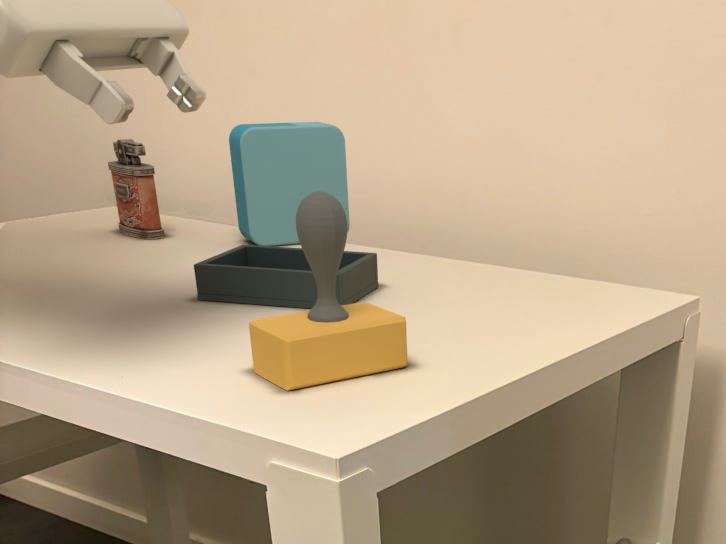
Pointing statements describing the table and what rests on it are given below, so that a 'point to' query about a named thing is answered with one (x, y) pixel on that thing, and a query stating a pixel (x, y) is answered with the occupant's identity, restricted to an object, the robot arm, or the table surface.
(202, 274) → the holder
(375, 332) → the rubber stamp
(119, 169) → the lighter
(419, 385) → the table surface
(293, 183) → the teal rounded flat block
